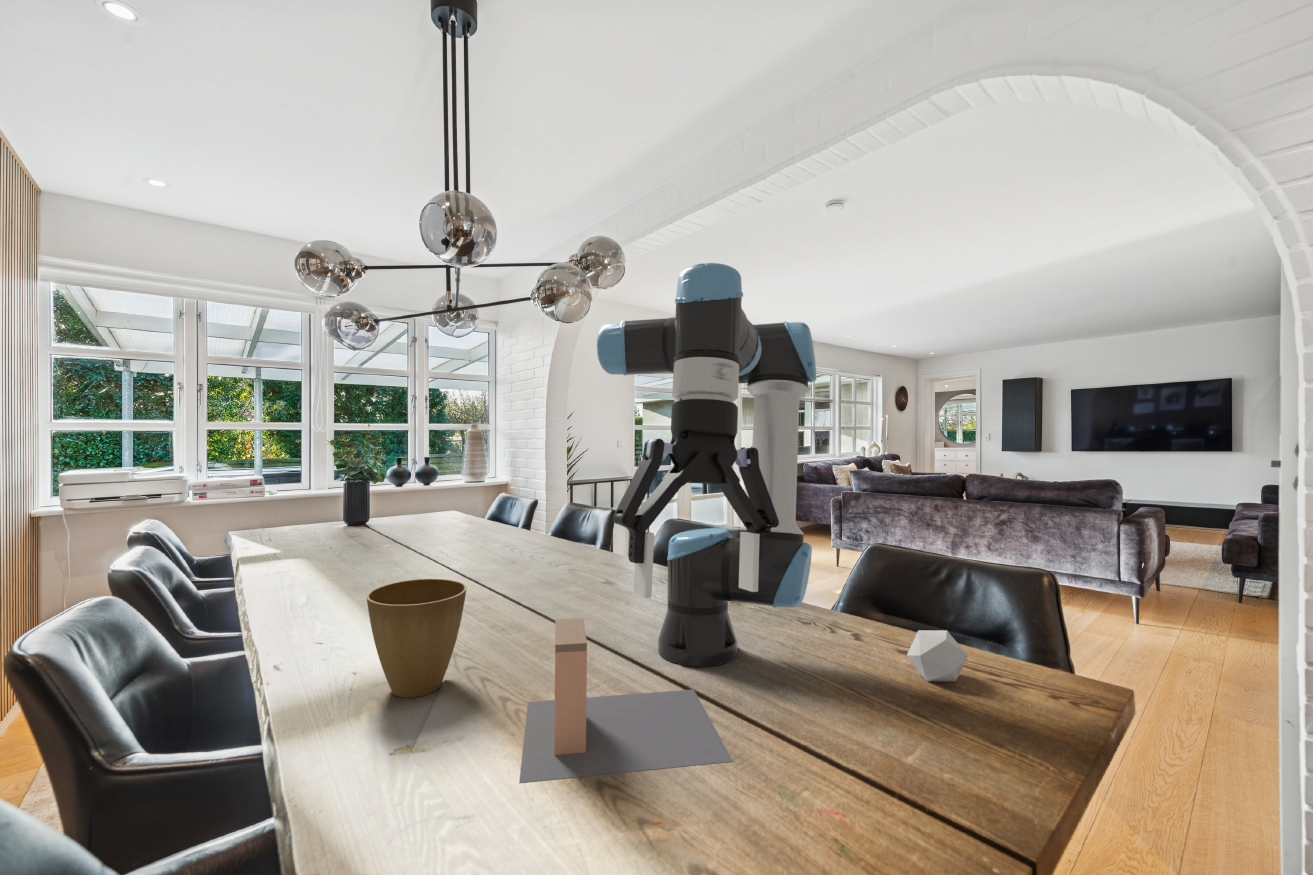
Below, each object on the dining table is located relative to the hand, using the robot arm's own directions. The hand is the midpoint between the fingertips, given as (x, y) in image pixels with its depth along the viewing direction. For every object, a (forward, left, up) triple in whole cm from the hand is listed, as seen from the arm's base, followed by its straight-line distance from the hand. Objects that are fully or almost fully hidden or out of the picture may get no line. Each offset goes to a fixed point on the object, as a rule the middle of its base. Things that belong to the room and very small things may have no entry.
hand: (697, 592), depth 61 cm
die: (-26, +50, -24) cm, 61 cm away
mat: (-17, -6, -24) cm, 30 cm away
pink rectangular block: (-17, -13, -23) cm, 32 cm away
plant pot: (-36, -37, -24) cm, 57 cm away
